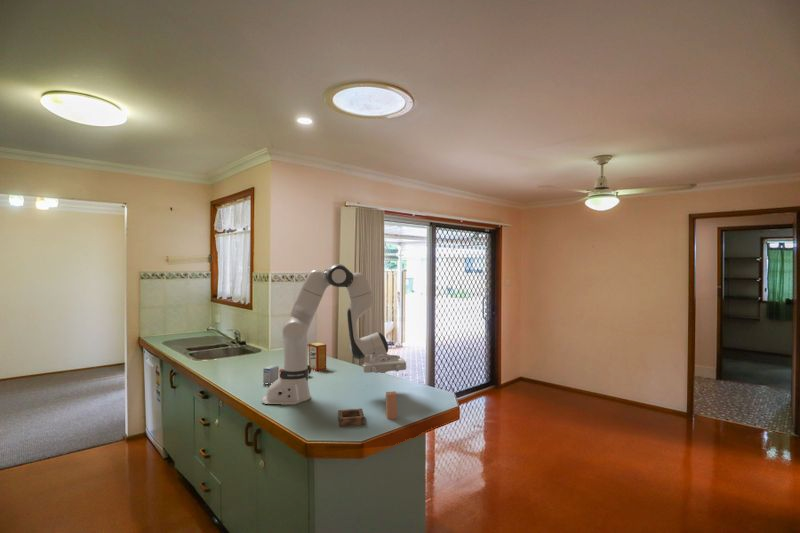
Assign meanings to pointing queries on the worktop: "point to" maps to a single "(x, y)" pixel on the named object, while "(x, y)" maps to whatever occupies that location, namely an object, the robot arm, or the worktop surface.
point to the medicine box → (270, 374)
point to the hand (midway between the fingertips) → (387, 370)
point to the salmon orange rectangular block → (391, 405)
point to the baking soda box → (317, 356)
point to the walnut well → (351, 417)
